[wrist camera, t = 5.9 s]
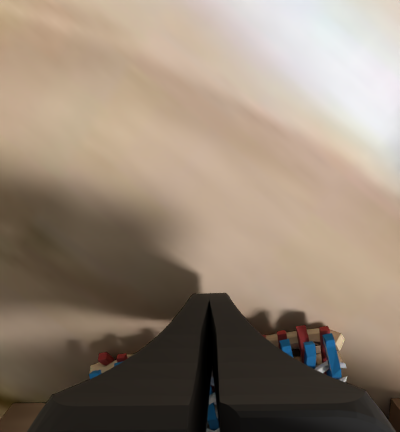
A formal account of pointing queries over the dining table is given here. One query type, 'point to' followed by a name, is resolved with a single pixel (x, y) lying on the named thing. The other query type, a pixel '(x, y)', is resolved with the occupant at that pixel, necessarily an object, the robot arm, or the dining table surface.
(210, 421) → the woven mat
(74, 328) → the dining table surface
